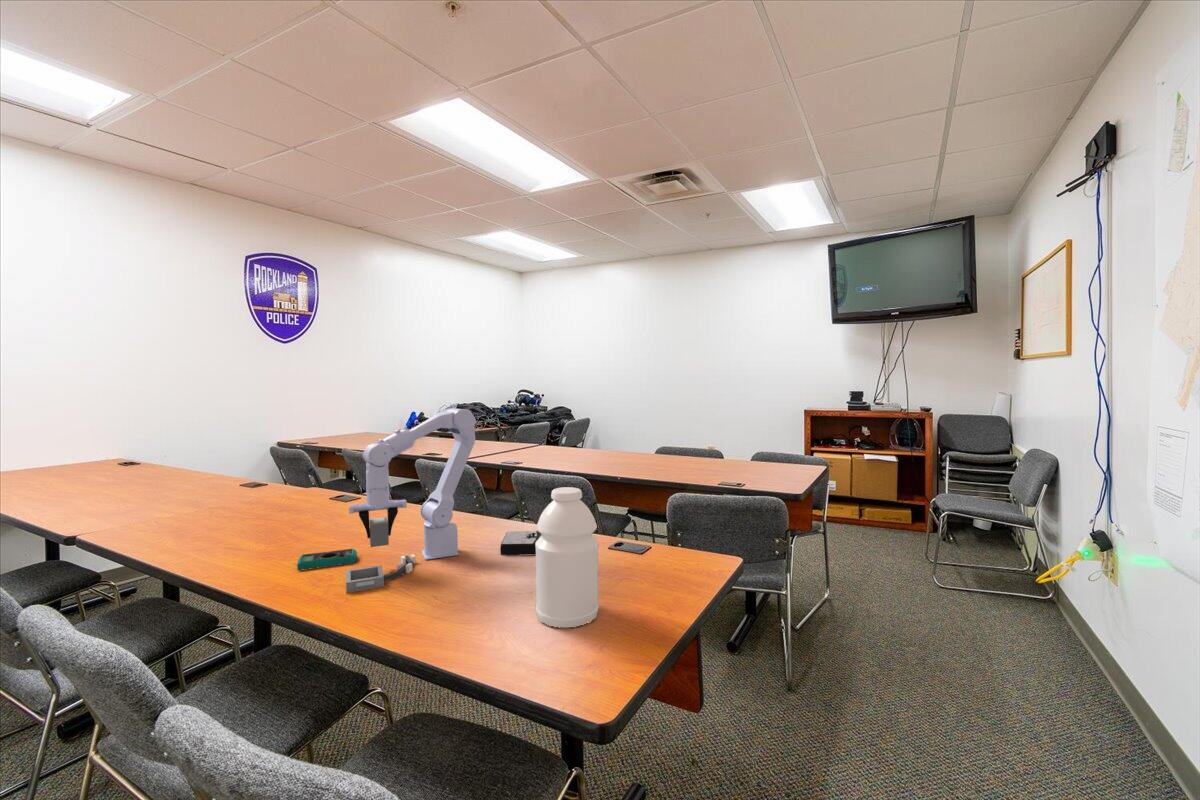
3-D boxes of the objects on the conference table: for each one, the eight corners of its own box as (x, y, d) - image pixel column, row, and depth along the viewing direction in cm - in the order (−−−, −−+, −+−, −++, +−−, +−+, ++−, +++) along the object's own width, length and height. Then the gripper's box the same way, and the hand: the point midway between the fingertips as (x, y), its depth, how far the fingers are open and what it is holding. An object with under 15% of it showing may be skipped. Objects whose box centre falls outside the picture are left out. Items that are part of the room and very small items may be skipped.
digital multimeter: (356, 564, 147) (356, 554, 147) (296, 572, 141) (296, 562, 141) (357, 556, 154) (357, 546, 154) (299, 563, 148) (299, 553, 148)
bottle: (591, 632, 107) (591, 498, 106) (527, 627, 109) (526, 496, 108) (603, 603, 121) (603, 484, 119) (545, 598, 123) (545, 482, 122)
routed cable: (423, 559, 149) (423, 552, 149) (400, 581, 133) (400, 574, 133) (404, 559, 150) (404, 552, 149) (380, 581, 134) (379, 574, 133)
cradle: (381, 574, 139) (381, 565, 138) (383, 587, 130) (383, 577, 130) (346, 579, 135) (346, 570, 135) (346, 593, 126) (346, 583, 126)
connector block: (387, 538, 147) (386, 516, 146) (388, 544, 141) (388, 521, 141) (369, 540, 145) (369, 518, 144) (370, 547, 139) (370, 523, 139)
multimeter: (565, 555, 154) (565, 539, 154) (500, 556, 153) (499, 539, 153) (566, 541, 167) (566, 526, 167) (506, 542, 166) (506, 527, 166)
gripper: (348, 493, 136) (349, 544, 136) (407, 487, 142) (408, 536, 143) (348, 487, 142) (349, 536, 143) (404, 482, 148) (405, 529, 149)
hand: (378, 536), depth 143 cm, fingers closed on connector block, 4 cm apart
